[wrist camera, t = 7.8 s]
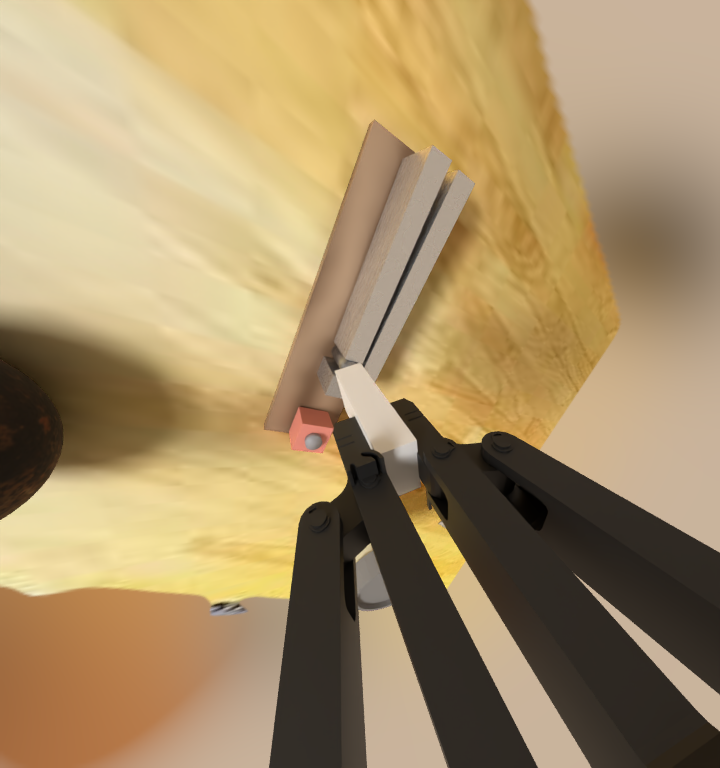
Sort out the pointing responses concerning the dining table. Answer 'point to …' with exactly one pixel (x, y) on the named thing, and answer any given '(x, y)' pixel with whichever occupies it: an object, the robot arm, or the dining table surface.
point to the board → (337, 279)
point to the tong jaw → (389, 252)
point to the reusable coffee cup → (370, 582)
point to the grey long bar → (409, 278)
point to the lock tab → (310, 430)
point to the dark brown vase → (25, 438)
